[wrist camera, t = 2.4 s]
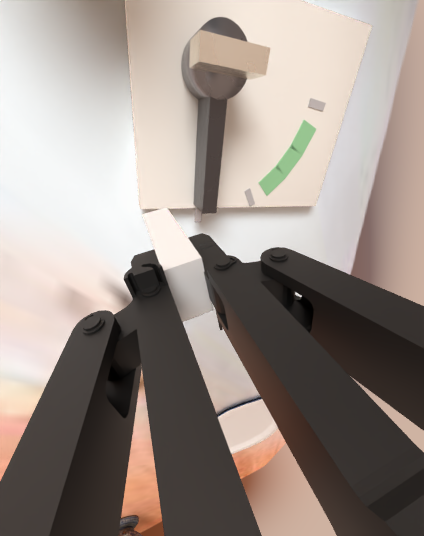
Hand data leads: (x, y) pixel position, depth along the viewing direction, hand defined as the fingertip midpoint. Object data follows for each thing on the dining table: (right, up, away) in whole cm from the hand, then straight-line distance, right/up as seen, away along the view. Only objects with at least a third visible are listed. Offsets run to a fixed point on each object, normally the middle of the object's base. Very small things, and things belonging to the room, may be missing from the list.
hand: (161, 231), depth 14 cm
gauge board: (+7, +13, +9) cm, 17 cm away
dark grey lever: (+2, +10, +7) cm, 13 cm away
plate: (+12, -44, +48) cm, 66 cm away
